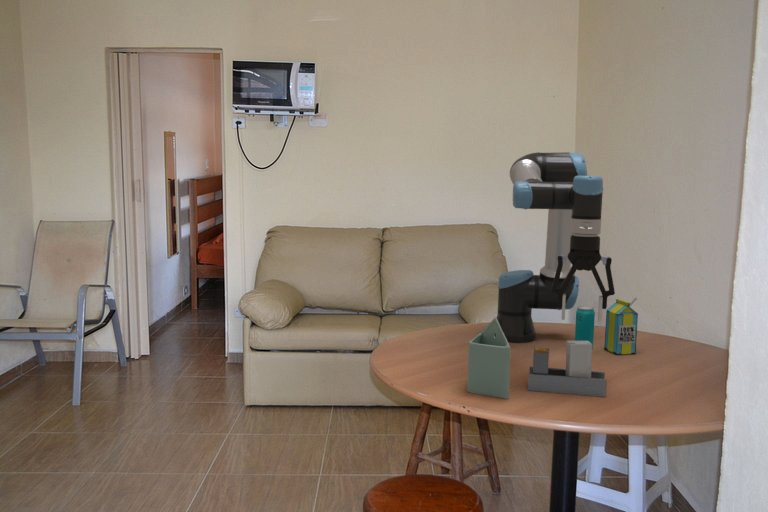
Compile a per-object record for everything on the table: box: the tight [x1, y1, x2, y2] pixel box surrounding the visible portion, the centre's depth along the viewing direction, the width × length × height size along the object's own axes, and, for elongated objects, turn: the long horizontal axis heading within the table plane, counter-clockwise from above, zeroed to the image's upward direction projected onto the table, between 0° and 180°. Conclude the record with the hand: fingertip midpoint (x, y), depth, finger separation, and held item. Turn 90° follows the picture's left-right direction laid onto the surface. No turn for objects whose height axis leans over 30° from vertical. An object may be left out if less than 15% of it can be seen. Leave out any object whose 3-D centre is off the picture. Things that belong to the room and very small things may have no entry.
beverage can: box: [574, 305, 596, 351], centre depth 229 cm, size 6×6×15 cm
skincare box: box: [565, 340, 593, 378], centre depth 191 cm, size 6×4×12 cm
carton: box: [603, 297, 639, 356], centre depth 231 cm, size 7×8×18 cm
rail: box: [527, 346, 608, 398], centre depth 192 cm, size 8×20×11 cm, turn 77°
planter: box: [466, 317, 511, 400], centre depth 190 cm, size 16×8×20 cm, turn 20°
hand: (581, 319), depth 190 cm, fingers open, 9 cm apart
